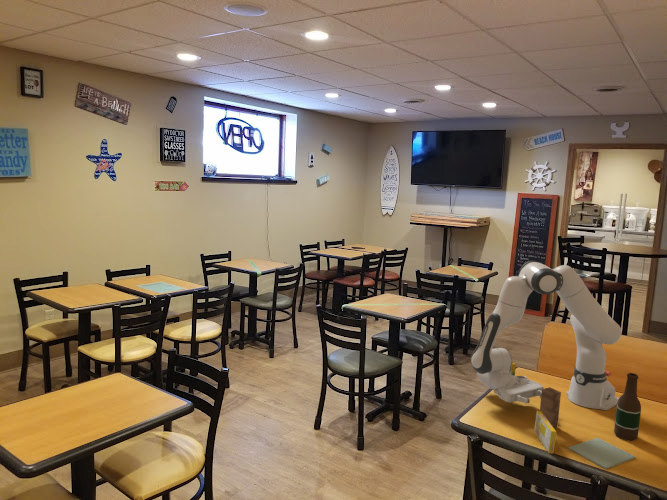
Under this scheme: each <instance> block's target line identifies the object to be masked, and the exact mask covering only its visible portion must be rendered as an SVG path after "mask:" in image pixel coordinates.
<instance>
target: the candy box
mask: <svg viewBox="0 0 667 500" xmlns="http://www.w3.org/2000/svg"><path fill="white" fill-rule="evenodd" d="M533 430H534V431H533V432H534V433H535V434H536V436H537V438H538V439H539V440H540V442H541V444H542V446H543V447H544V449H545V450H546V452H547V453H548V454H550V455H551V454H552V455H553V454H554V453H555V446H556V440H557V431H556V428H553V427H552V425H551V424H550V422H549V421H548V420H547V418H546V417H545V416H544V414H543V413H542V412H541V411H540V410H536V414H535V423H534V429H533Z"/></svg>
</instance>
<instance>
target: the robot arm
mask: <svg viewBox="0 0 667 500" xmlns="http://www.w3.org/2000/svg"><path fill="white" fill-rule="evenodd" d="M533 291H535V292H536V293H537V294H541V295H550V294H553V293H555V292H556V294H557V295H558V296H559V298H560V300H561V301H562V303H563V304H564V306H565V307H566V309H567V310H568V312H569V313H570V319H569V322H570V324H571V327H572V328H573V331H574V336H575V343H576V359H575V361H576V362H575V366H574V369H573V376H572V377H571V379H570V380H571V381H570V384H569V390H567V391H566V395H567V397H568V400H569V401H570V402H571V403H573V404H575V405H578V406H581V407H583V408H588V409H596V410H597V409H598V410H601V411H608V410H610V409H612V408H614V407H615V406H617V403H618V399H619V398H620V397H618V396H616V388H615V386H613V384H612V383H611V382H610V381H608V379H607V377H611V375H612V373H611V371H608V370H606V362H607V353H606V351H605V349H604V346H603V345H607V346H608V345H614V344H616V343H617V342H619V340H620V339H621V337H622V328H621V326H620V324H618V323H617V322H616V321H615V320H614V319H613V318H612V317H611V316H610V315H609V314H608V313H607V311H606V310H605V308H603V306H601V305H600V303H599V302H598V301H597V300H596V299H595V298H594V296H593V295H592V293H591V292H590V290H589V288H588V287H587V285H586V284H585V282H584V281H583V279H582V278H581V276H580V275H579V274H578V272H576V271H575V270H574V269H573V267H571V266H569V265H567V264H563V265H562V264H561V265H559V266H556V267H555V268H551V267H549V266H547V265H546V264H543V263H542V262H540V261H537V260H528V261H526V262H524V263H523V264H522V265H521V267H520V268H519V270H518V271H517V272H516V273H515V275H512V276H509V277H507V278H506V279H505V280H504V283H503V285H502V287H501V289H500V293H499V296H498V298H497V299H498V300H497V304H496V305H495V308H494V310H493V311H492V313H491V314H490V315H489V316H488V318H487V320H486V322H485V324H484V327H483V330H482V331H481V335H480V337H479V340H478V343H477V345H476V347H475V349H474V350H473V351H472V353H471V355H470V364H471V367H472V368H473V369H474V371H475V372H476V377H477V379H478V380H479V382H480V383H481V384H482V385H483V386H485V387H487V388H489V389H491V390H493V393H494V394H495V395H497V397H498V398H499V399H501V400H503V401H504V402H506V403H514V402H519V403H524V404H526V405H527V404H529V403H530V401H531V400H530V399H531V398H534V397H539V399H541V393H542V389H545V388H544V386H543V385H542V384H541V383H539V382H536V381H534V380H532V379H528V377H527V376H526V375H515V376H514V375H509V371H510V368H511V364H512V363H513V362H512V361H513V359H512V358H513V357H512V355H511V353H510V351H508V350H507V349H506V348H505V347H504V348H503V347H494V346H495V343H496V340H497V338H498V336H499V334H500V333H501V332H502V331H503V330H505V329H507V328H508V327H510V326H512V325H515V324H517V323H519V321H521V319H522V318H523V315H524V314H525V311H526V307H527V302H528V298H529V297H530V295H531V294H532V292H533Z"/></svg>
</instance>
